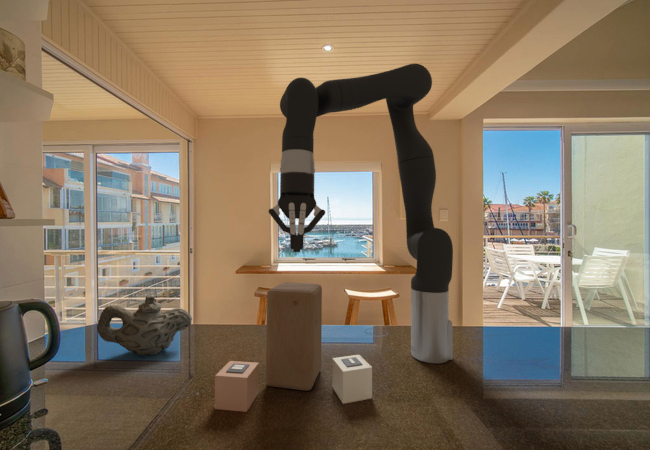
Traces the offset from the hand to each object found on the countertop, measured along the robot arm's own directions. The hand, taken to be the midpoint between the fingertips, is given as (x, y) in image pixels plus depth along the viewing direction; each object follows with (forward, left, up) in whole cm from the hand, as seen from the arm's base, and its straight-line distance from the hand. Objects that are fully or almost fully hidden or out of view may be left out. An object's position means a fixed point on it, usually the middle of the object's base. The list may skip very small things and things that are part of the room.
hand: (296, 251), depth 63 cm
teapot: (+38, -18, -28) cm, 50 cm away
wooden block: (0, 0, -28) cm, 28 cm away
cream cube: (-11, +7, -28) cm, 31 cm away
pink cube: (+11, +7, -28) cm, 31 cm away
